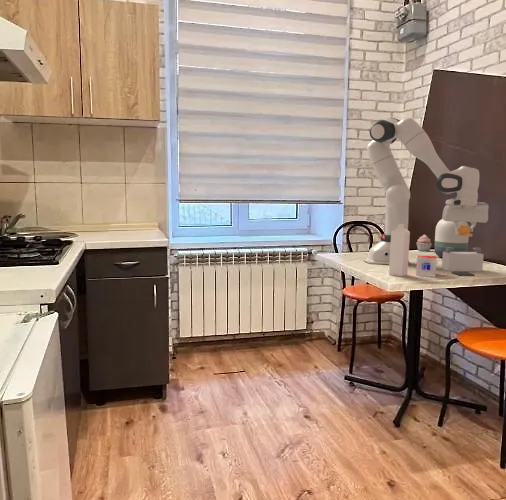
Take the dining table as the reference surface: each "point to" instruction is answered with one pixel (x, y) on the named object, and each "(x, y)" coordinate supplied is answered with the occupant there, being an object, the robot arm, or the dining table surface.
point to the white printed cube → (426, 265)
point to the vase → (449, 238)
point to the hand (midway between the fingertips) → (463, 231)
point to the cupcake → (424, 243)
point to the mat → (463, 273)
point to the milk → (399, 251)
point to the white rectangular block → (462, 260)
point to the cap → (464, 230)
